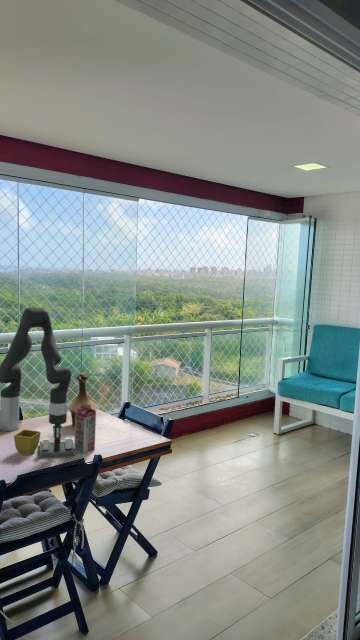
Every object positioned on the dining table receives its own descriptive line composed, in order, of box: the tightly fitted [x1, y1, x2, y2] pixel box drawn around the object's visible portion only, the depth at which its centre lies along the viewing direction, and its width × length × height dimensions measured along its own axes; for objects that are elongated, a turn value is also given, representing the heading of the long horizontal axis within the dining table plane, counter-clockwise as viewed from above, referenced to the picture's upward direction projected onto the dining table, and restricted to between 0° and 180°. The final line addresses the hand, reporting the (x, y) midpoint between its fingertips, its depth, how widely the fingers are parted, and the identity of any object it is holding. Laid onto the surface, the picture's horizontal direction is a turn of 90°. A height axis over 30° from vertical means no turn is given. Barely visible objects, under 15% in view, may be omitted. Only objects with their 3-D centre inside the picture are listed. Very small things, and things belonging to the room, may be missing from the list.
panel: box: [39, 439, 75, 459], centre depth 225 cm, size 15×16×2 cm
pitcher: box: [67, 372, 100, 428], centre depth 262 cm, size 18×17×28 cm
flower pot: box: [13, 429, 42, 456], centre depth 220 cm, size 9×9×9 cm
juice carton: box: [73, 402, 97, 454], centre depth 226 cm, size 7×7×22 cm
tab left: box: [42, 437, 50, 450], centre depth 220 cm, size 3×2×4 cm
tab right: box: [65, 437, 73, 449], centre depth 222 cm, size 3×2×4 cm
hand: (56, 449), depth 217 cm, fingers closed
